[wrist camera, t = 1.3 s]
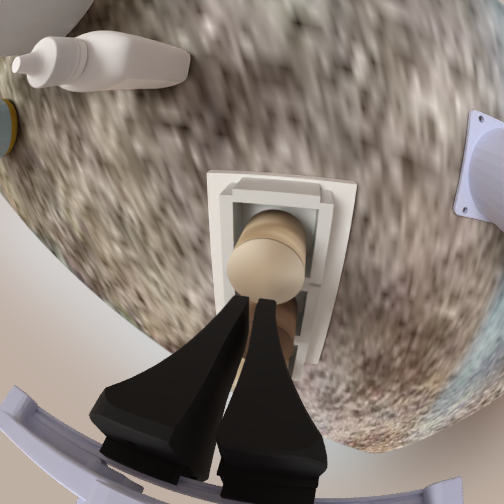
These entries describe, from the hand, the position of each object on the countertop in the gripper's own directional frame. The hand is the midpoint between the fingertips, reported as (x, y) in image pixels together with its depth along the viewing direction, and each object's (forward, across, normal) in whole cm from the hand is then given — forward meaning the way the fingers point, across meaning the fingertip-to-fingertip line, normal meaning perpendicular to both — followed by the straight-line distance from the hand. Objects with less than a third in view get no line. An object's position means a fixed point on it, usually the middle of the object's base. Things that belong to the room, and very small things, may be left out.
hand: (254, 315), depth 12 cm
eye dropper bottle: (+10, +9, -12) cm, 18 cm away
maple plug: (+7, 0, 0) cm, 7 cm away
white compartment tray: (+10, 0, +6) cm, 11 cm away
